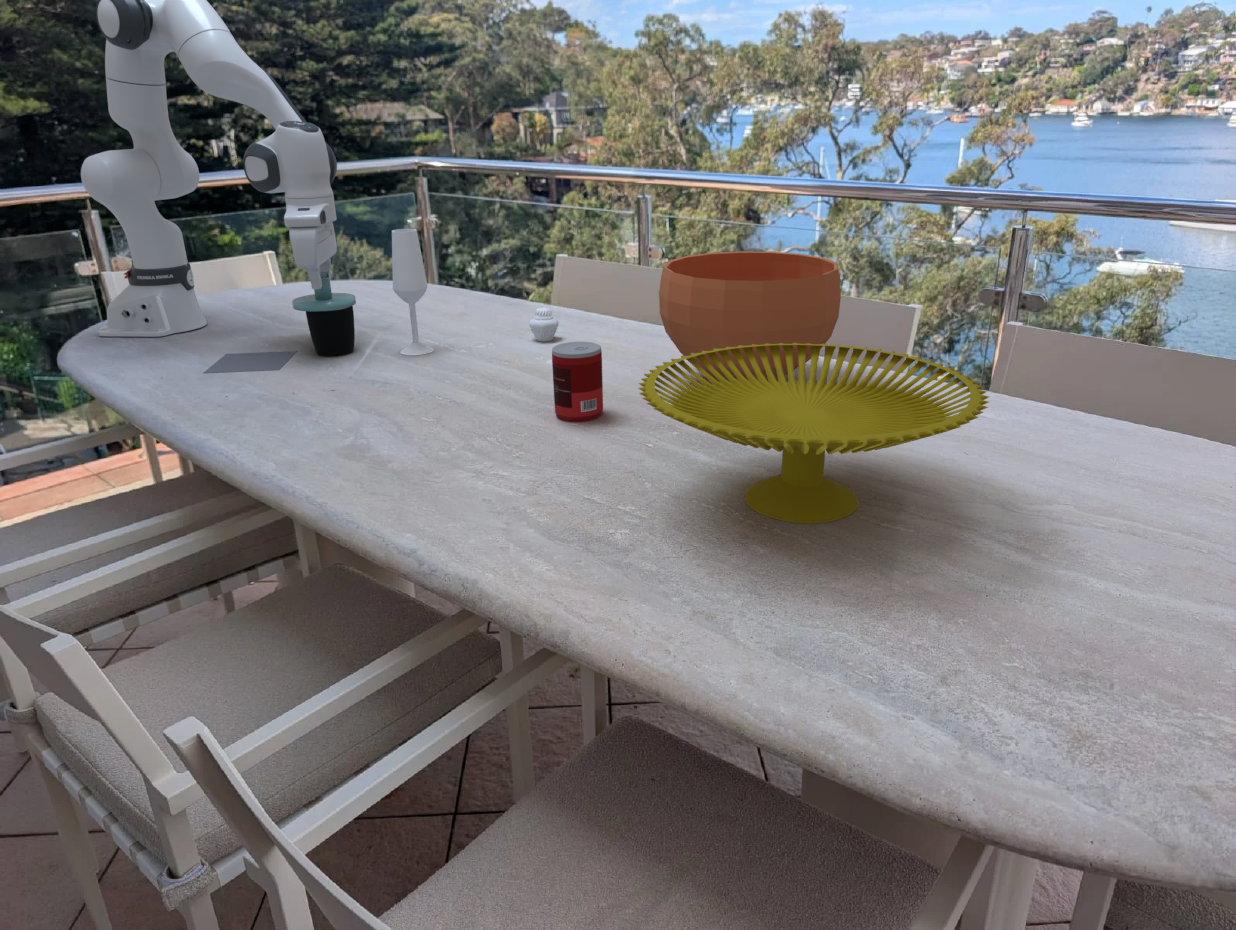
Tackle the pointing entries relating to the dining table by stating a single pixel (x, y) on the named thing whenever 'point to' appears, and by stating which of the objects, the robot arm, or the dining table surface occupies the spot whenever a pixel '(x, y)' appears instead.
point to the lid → (324, 299)
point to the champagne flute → (409, 280)
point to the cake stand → (810, 417)
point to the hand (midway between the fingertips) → (321, 284)
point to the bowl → (749, 304)
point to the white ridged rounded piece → (543, 324)
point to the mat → (251, 362)
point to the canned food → (577, 381)
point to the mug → (332, 331)
